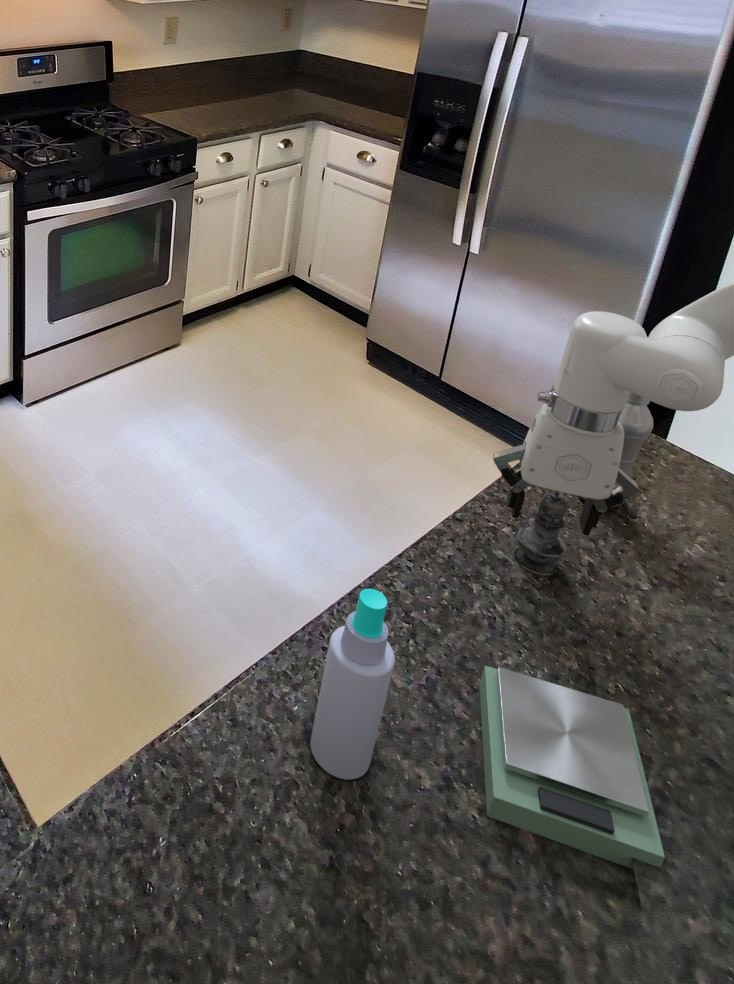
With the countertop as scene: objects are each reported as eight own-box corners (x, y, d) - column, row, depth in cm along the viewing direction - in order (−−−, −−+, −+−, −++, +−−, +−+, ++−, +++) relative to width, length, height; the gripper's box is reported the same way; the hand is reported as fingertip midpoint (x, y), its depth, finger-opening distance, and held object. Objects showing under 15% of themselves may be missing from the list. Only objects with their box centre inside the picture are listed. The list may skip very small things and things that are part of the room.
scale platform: (621, 709, 84) (623, 704, 84) (646, 817, 74) (649, 812, 74) (496, 671, 89) (498, 666, 88) (504, 768, 79) (506, 763, 78)
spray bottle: (297, 741, 85) (326, 587, 76) (339, 718, 87) (372, 566, 78) (338, 792, 80) (374, 634, 71) (382, 765, 82) (422, 609, 73)
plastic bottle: (581, 479, 125) (617, 369, 116) (629, 501, 120) (671, 389, 112) (564, 496, 121) (601, 384, 113) (613, 520, 116) (656, 405, 108)
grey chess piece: (512, 540, 112) (533, 471, 107) (560, 555, 110) (583, 486, 105) (509, 566, 108) (531, 496, 103) (559, 583, 105) (583, 512, 100)
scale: (620, 727, 86) (630, 705, 85) (655, 877, 73) (667, 853, 71) (479, 683, 91) (486, 661, 90) (486, 816, 78) (495, 792, 76)
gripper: (508, 408, 98) (477, 520, 106) (675, 442, 92) (630, 557, 100) (504, 379, 105) (475, 486, 112) (659, 408, 99) (618, 519, 106)
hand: (548, 519), depth 106 cm, fingers open, 7 cm apart
